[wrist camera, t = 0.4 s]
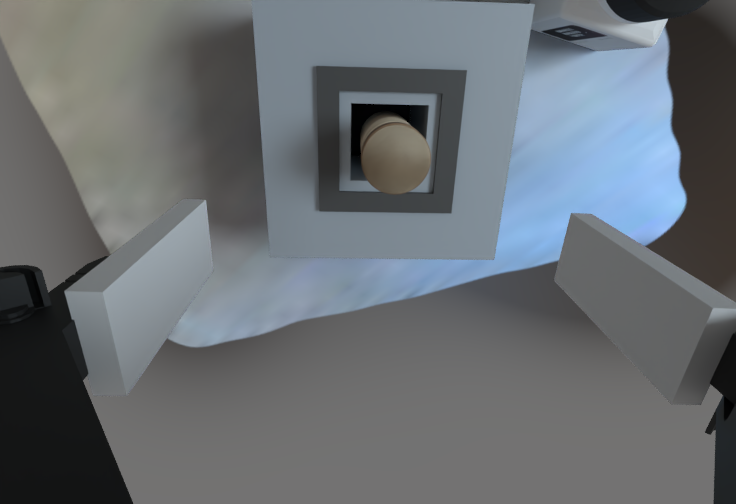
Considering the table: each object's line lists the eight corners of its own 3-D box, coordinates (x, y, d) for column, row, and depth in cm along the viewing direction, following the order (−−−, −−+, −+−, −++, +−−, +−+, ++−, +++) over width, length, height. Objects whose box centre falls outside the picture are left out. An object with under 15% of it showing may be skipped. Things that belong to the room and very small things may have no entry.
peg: (359, 109, 32) (361, 123, 24) (413, 111, 32) (433, 125, 24) (358, 163, 34) (360, 193, 25) (409, 164, 34) (427, 195, 26)
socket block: (277, 13, 35) (249, -8, 26) (488, 20, 36) (537, 2, 27) (287, 217, 43) (268, 259, 33) (464, 219, 43) (495, 261, 34)
